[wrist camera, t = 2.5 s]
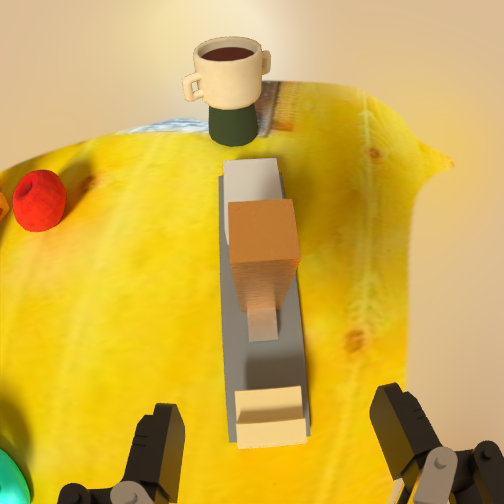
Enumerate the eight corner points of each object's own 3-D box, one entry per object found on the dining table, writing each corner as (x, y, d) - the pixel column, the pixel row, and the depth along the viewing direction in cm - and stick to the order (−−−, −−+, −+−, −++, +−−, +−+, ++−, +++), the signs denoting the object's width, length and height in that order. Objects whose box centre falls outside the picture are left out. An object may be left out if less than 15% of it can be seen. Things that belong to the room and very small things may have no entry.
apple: (88, 198, 32) (60, 163, 25) (56, 252, 29) (20, 223, 22) (54, 185, 33) (29, 153, 27) (25, 232, 30) (-6, 204, 24)
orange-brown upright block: (234, 181, 31) (226, 90, 20) (266, 179, 31) (271, 88, 20) (242, 343, 24) (232, 318, 13) (283, 340, 24) (308, 312, 13)
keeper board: (219, 181, 32) (214, 152, 28) (280, 178, 32) (284, 148, 28) (230, 440, 22) (224, 454, 17) (308, 433, 22) (320, 446, 17)
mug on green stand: (252, 106, 38) (252, 28, 26) (283, 133, 36) (291, 47, 24) (184, 136, 36) (165, 54, 24) (210, 168, 33) (193, 77, 21)
